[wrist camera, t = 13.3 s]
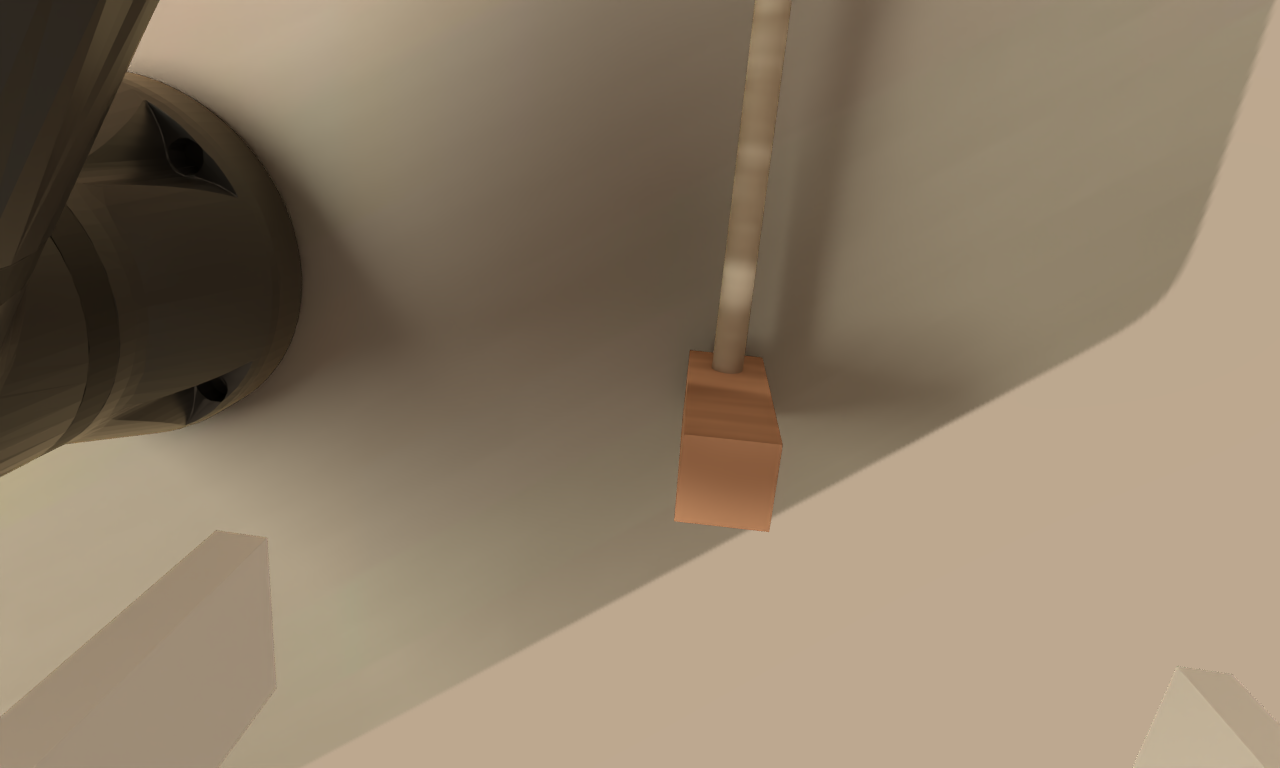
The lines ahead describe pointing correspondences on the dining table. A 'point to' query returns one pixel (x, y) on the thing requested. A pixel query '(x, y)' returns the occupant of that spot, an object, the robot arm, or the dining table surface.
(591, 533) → the dining table surface
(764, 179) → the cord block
